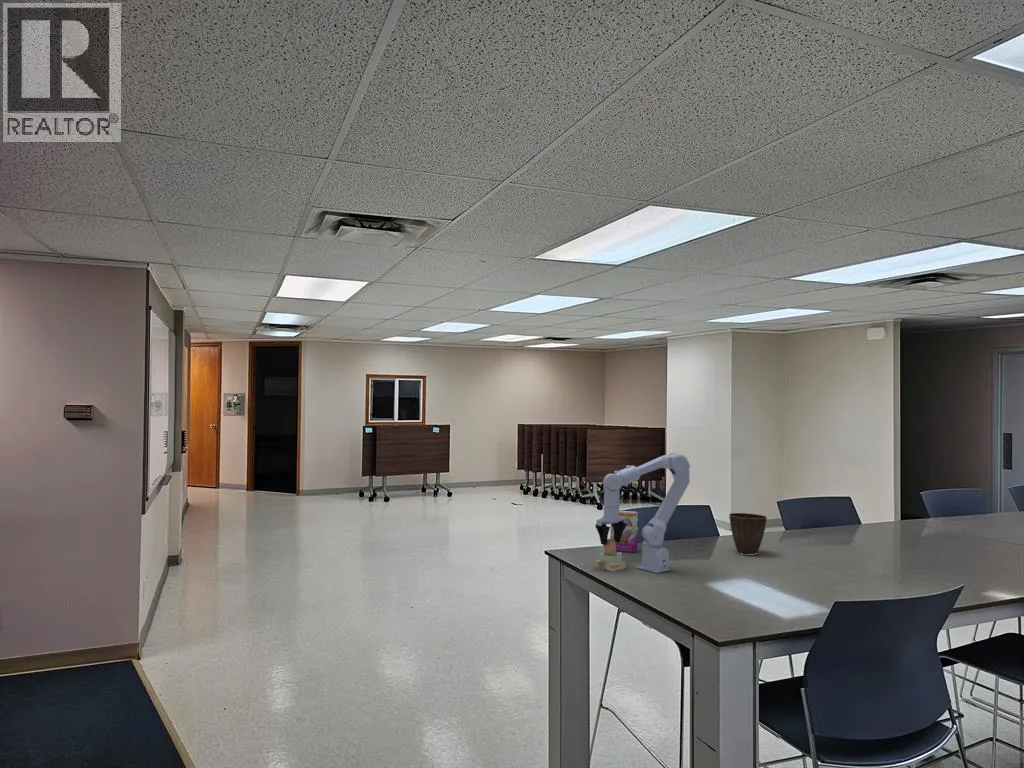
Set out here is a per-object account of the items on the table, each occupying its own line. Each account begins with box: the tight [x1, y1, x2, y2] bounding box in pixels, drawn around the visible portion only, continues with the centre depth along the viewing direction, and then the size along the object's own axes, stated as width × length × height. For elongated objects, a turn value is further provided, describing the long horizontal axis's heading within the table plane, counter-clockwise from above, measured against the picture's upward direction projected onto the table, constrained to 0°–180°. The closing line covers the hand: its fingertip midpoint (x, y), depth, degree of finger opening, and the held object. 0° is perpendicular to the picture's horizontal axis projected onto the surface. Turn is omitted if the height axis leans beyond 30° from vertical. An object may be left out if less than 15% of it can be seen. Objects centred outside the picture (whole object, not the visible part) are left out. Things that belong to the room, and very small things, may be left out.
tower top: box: [598, 552, 623, 564], centre depth 251 cm, size 6×6×2 cm
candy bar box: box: [609, 510, 640, 554], centre depth 281 cm, size 11×5×16 cm, turn 84°
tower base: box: [594, 559, 627, 572], centre depth 251 cm, size 8×8×3 cm
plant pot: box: [728, 512, 768, 554], centre depth 286 cm, size 15×15×16 cm
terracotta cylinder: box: [602, 538, 617, 555], centre depth 251 cm, size 5×5×5 cm
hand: (610, 543), depth 251 cm, fingers open, 7 cm apart
